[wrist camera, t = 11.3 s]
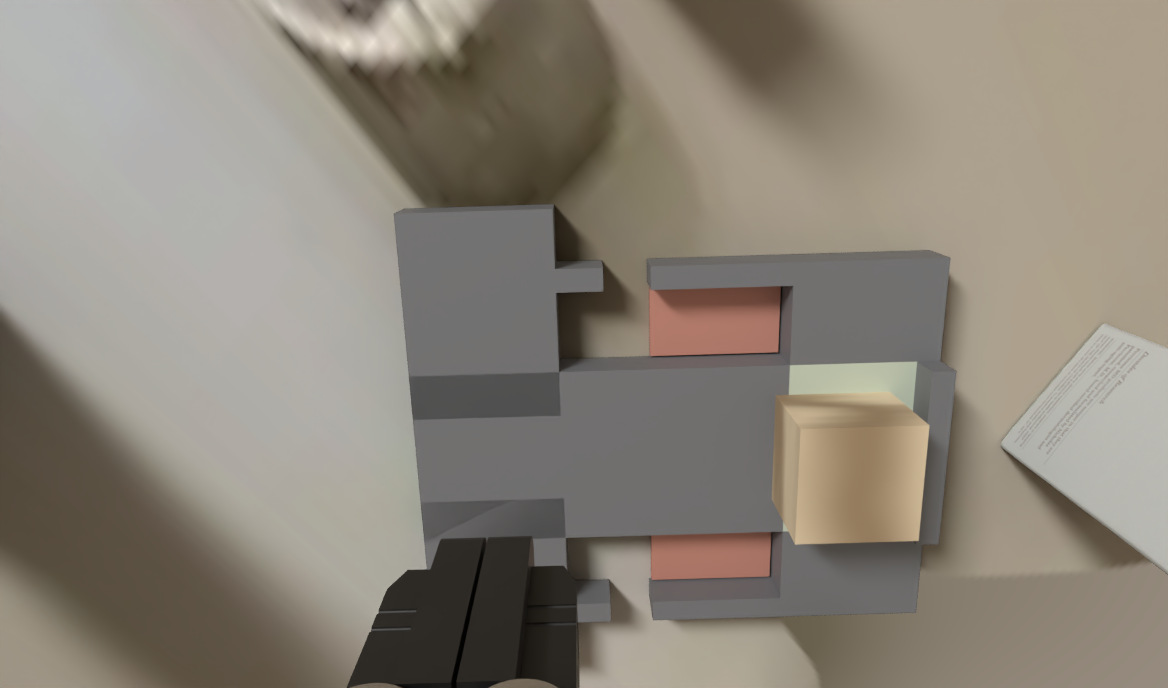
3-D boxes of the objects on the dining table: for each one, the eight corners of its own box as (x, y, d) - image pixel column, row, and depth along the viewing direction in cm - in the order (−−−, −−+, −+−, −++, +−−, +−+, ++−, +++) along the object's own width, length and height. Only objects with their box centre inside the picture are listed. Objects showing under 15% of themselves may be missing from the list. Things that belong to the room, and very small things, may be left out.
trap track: (443, 645, 40) (430, 693, 36) (404, 208, 34) (384, 217, 31) (895, 631, 40) (924, 678, 36) (934, 192, 34) (974, 200, 31)
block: (771, 499, 36) (795, 544, 32) (775, 395, 34) (800, 429, 30) (881, 495, 36) (918, 541, 32) (890, 391, 34) (929, 425, 30)
